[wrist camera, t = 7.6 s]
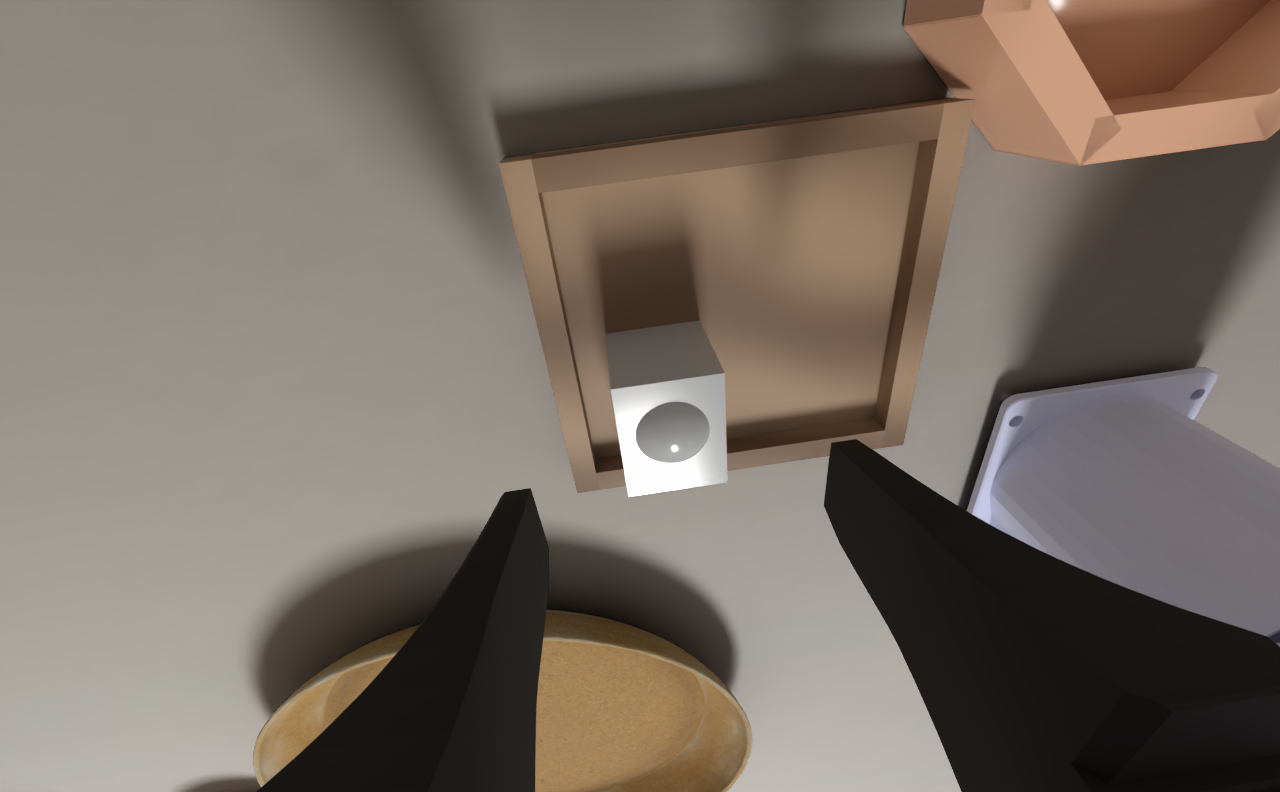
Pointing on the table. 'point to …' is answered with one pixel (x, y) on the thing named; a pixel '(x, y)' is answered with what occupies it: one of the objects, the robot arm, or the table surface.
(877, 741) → the table surface
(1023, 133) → the bowl
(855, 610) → the table surface
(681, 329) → the white cube with dimple
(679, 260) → the tray
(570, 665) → the plant saucer
